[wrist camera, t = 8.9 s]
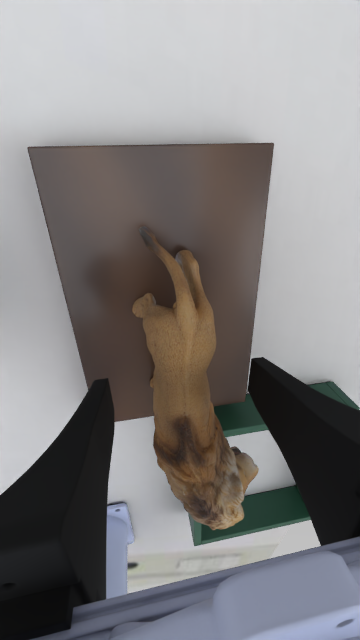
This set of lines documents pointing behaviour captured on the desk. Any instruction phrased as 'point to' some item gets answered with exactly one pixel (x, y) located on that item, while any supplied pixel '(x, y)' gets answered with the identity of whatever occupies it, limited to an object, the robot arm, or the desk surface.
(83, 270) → the stand
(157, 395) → the lion figurine
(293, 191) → the desk surface
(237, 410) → the storage box
